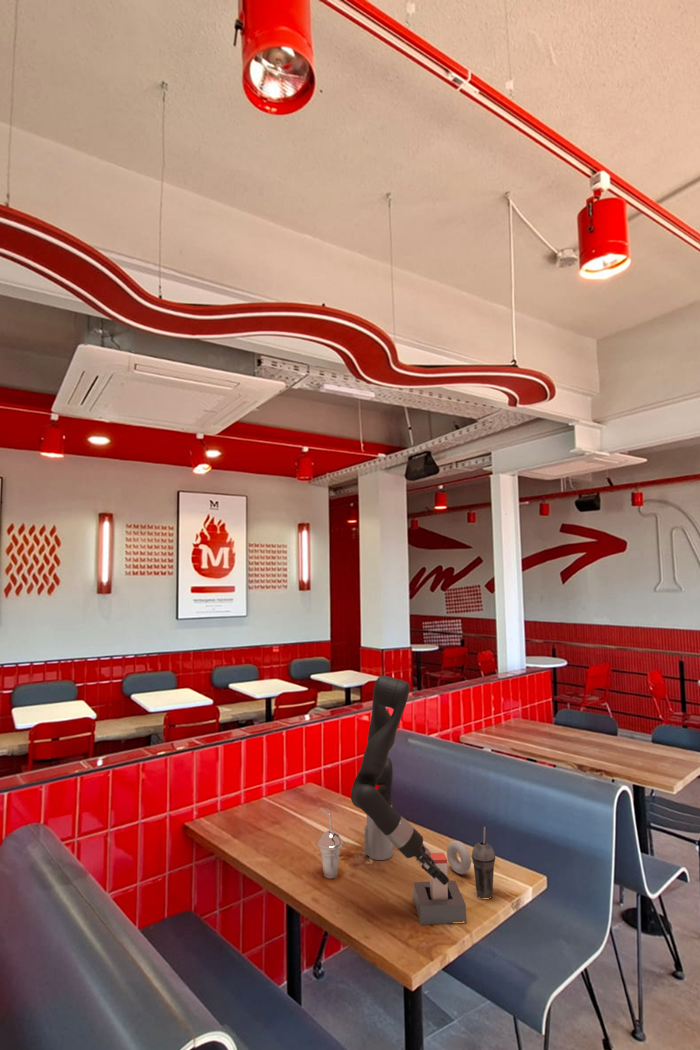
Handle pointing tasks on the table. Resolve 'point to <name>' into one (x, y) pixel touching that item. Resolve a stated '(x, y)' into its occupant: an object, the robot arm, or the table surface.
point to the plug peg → (436, 887)
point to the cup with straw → (330, 850)
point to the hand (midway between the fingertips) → (444, 877)
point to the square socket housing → (439, 905)
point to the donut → (453, 859)
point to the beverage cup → (483, 868)
